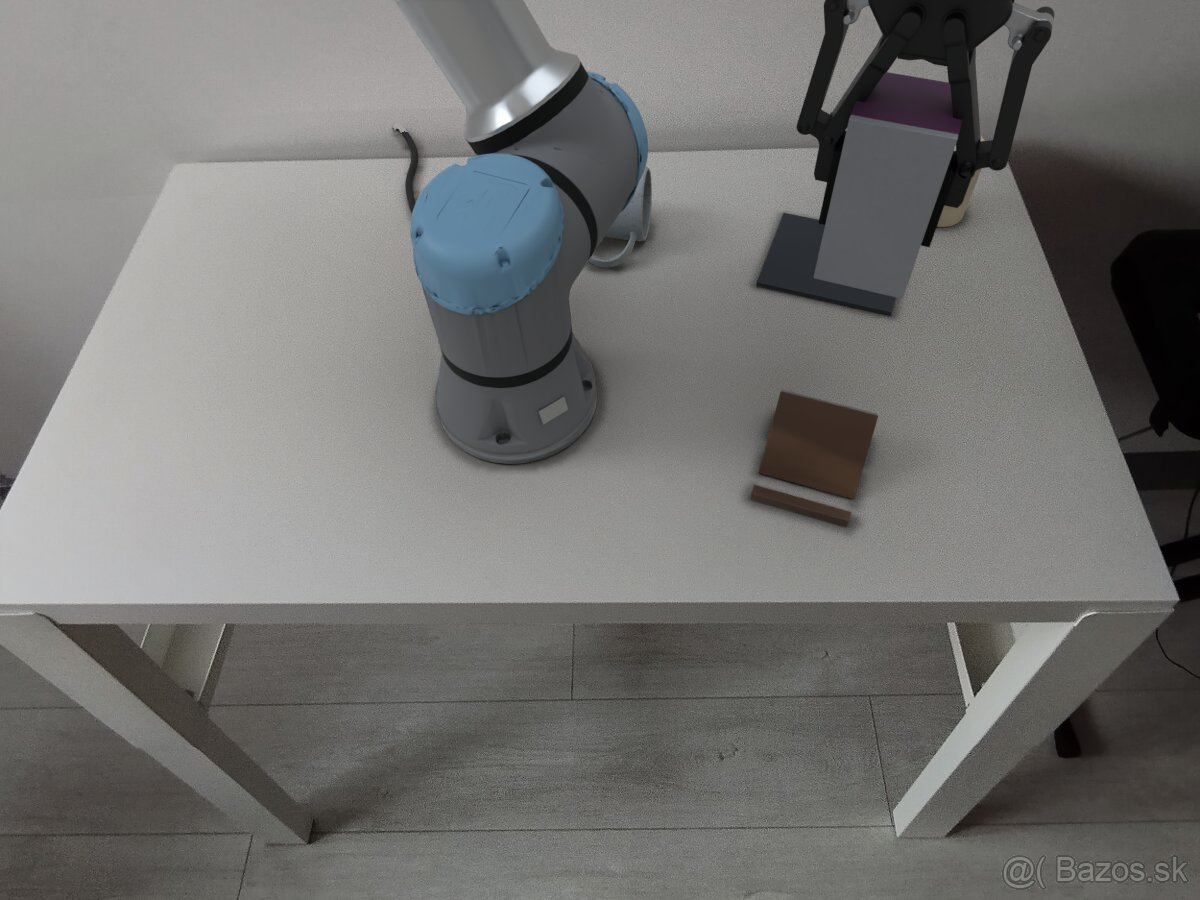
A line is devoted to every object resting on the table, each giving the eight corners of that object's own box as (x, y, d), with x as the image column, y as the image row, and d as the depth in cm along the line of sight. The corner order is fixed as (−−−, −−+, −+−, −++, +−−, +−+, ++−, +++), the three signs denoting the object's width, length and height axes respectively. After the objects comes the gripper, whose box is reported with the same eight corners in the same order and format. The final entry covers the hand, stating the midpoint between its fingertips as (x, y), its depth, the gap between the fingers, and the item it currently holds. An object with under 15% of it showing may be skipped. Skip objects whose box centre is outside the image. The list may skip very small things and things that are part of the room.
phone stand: (775, 424, 80) (784, 378, 74) (864, 448, 78) (881, 402, 72) (748, 506, 74) (757, 462, 69) (844, 533, 72) (860, 491, 67)
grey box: (866, 107, 69) (869, 46, 55) (954, 122, 67) (980, 64, 53) (815, 282, 72) (806, 266, 58) (899, 301, 70) (910, 290, 56)
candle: (968, 227, 93) (999, 148, 85) (917, 228, 93) (943, 149, 85) (957, 196, 96) (986, 116, 88) (908, 196, 97) (932, 117, 89)
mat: (756, 285, 89) (756, 282, 89) (783, 216, 96) (783, 212, 95) (890, 315, 86) (891, 312, 85) (909, 241, 92) (910, 237, 92)
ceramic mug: (582, 205, 98) (578, 148, 92) (652, 210, 97) (653, 152, 91) (567, 269, 92) (561, 212, 86) (641, 274, 91) (641, 217, 85)
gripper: (1166, -114, 46) (1016, 222, 65) (808, -151, 51) (764, 171, 70) (1164, -54, 42) (1005, 285, 61) (776, -100, 47) (738, 227, 66)
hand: (876, 224), depth 65 cm, fingers closed on grey box, 7 cm apart
